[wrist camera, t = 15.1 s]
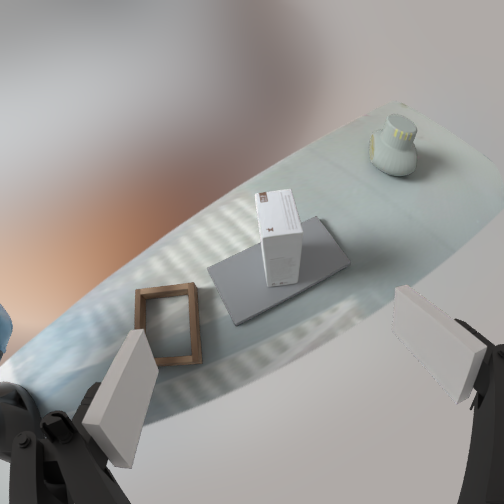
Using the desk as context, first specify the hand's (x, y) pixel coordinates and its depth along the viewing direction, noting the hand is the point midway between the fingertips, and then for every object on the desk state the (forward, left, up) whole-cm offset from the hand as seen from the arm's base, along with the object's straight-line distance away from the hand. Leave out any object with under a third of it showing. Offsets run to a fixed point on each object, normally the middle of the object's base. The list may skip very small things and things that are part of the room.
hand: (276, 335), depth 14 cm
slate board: (+3, +14, -23) cm, 27 cm away
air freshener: (+28, +33, -23) cm, 49 cm away
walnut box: (-13, +8, -23) cm, 27 cm away
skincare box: (+3, +14, -22) cm, 26 cm away
